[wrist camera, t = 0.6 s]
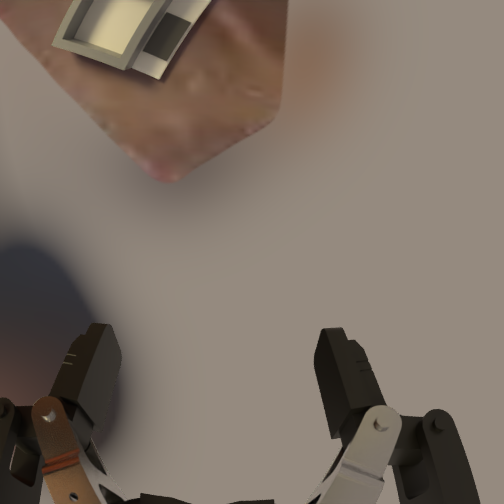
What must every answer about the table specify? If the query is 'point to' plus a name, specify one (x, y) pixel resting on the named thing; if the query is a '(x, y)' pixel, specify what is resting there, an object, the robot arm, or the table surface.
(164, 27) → the socket board
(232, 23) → the table surface
